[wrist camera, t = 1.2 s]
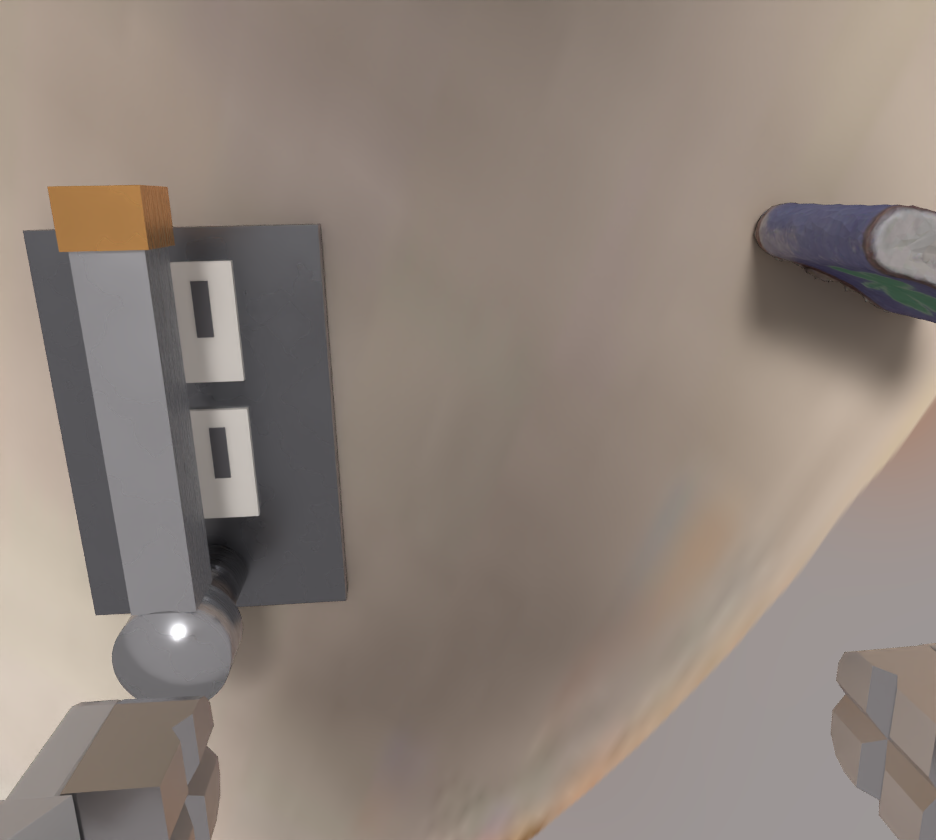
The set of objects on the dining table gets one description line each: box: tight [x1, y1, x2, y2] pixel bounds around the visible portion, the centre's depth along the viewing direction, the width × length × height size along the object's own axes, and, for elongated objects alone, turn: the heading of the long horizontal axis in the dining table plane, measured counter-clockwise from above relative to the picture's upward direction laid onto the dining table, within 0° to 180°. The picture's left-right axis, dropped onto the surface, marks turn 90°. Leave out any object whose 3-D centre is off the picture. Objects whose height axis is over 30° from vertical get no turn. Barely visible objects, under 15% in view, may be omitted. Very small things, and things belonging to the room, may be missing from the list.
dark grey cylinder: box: [208, 545, 247, 605], centre depth 33 cm, size 3×3×4 cm
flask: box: [754, 203, 936, 323], centre depth 29 cm, size 9×3×11 cm, turn 66°
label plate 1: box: [170, 260, 245, 383], centre depth 31 cm, size 5×5×1 cm
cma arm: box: [48, 185, 243, 700], centre depth 27 cm, size 20×4×3 cm, turn 1°
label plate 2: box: [190, 407, 260, 519], centre depth 33 cm, size 5×5×1 cm
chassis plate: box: [23, 224, 348, 615], centre depth 33 cm, size 18×12×1 cm, turn 1°
